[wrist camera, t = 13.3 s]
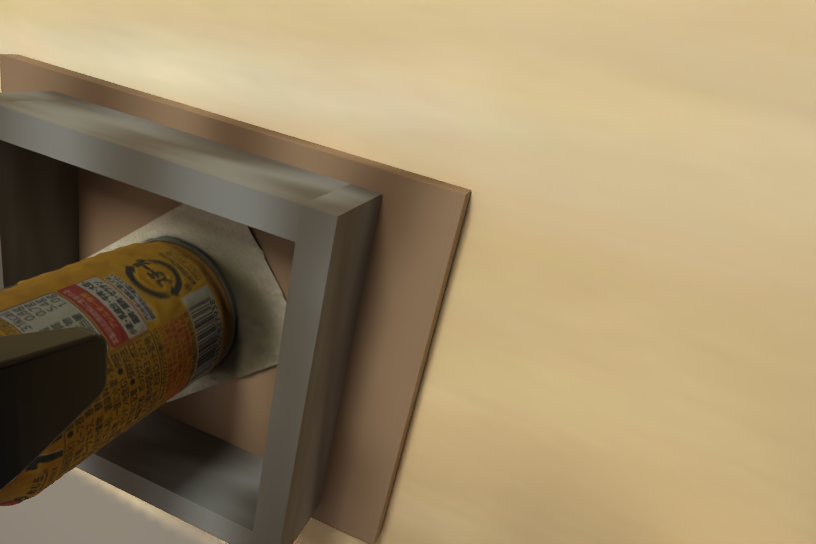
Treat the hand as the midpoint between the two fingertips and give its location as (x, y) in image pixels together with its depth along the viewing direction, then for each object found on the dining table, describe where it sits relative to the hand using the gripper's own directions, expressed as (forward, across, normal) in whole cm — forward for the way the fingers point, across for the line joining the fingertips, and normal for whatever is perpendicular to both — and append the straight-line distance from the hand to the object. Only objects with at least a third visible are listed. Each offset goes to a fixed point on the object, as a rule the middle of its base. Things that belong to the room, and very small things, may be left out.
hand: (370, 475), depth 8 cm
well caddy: (+13, +12, +7) cm, 19 cm away
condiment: (+12, +12, +7) cm, 18 cm away
